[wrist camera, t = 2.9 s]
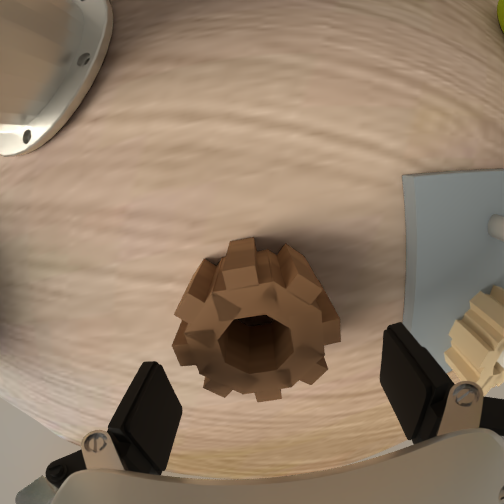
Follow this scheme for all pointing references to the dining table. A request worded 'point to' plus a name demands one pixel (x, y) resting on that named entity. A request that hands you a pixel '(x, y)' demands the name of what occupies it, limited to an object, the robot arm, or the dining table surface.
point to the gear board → (457, 270)
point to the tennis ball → (501, 13)
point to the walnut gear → (261, 336)
